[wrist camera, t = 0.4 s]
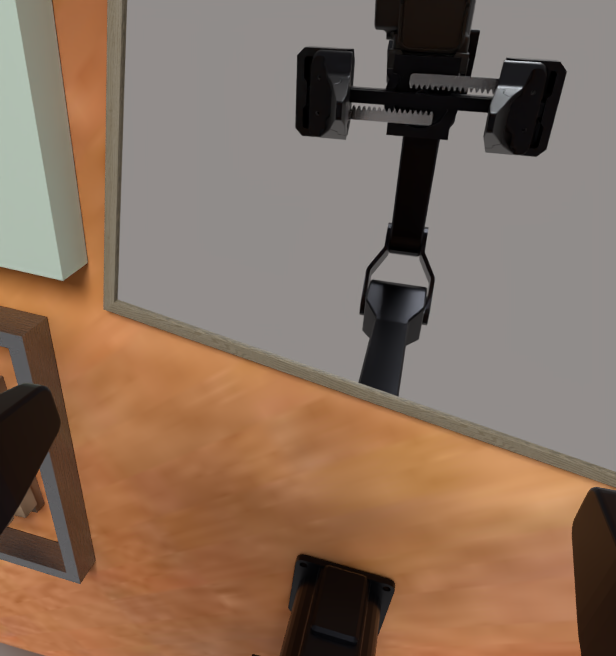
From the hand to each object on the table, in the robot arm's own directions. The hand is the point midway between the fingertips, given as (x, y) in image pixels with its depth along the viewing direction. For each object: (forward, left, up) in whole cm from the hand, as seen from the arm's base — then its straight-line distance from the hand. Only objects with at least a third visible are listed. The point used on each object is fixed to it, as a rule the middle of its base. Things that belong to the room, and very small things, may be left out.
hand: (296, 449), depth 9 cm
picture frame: (-1, -2, -15) cm, 15 cm away
